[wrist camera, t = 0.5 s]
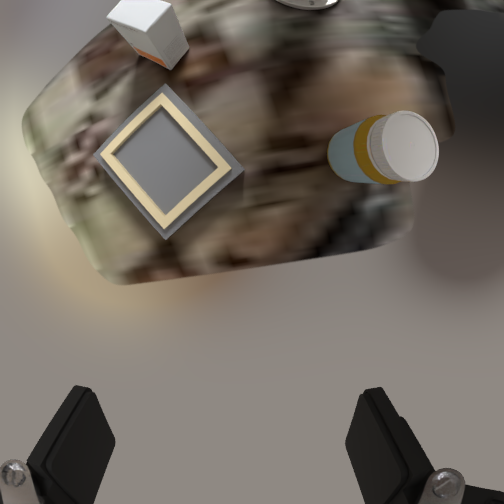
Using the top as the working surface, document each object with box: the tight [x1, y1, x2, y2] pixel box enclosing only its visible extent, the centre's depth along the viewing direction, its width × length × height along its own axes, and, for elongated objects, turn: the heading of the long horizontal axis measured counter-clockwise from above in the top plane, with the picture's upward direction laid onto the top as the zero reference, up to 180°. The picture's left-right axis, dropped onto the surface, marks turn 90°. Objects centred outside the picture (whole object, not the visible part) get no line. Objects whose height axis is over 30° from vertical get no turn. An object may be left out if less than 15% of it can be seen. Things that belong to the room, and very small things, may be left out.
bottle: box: [327, 111, 439, 184], centre depth 28 cm, size 7×7×15 cm
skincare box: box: [106, 0, 189, 70], centre depth 25 cm, size 6×4×12 cm
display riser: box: [94, 83, 245, 240], centre depth 32 cm, size 12×14×5 cm
